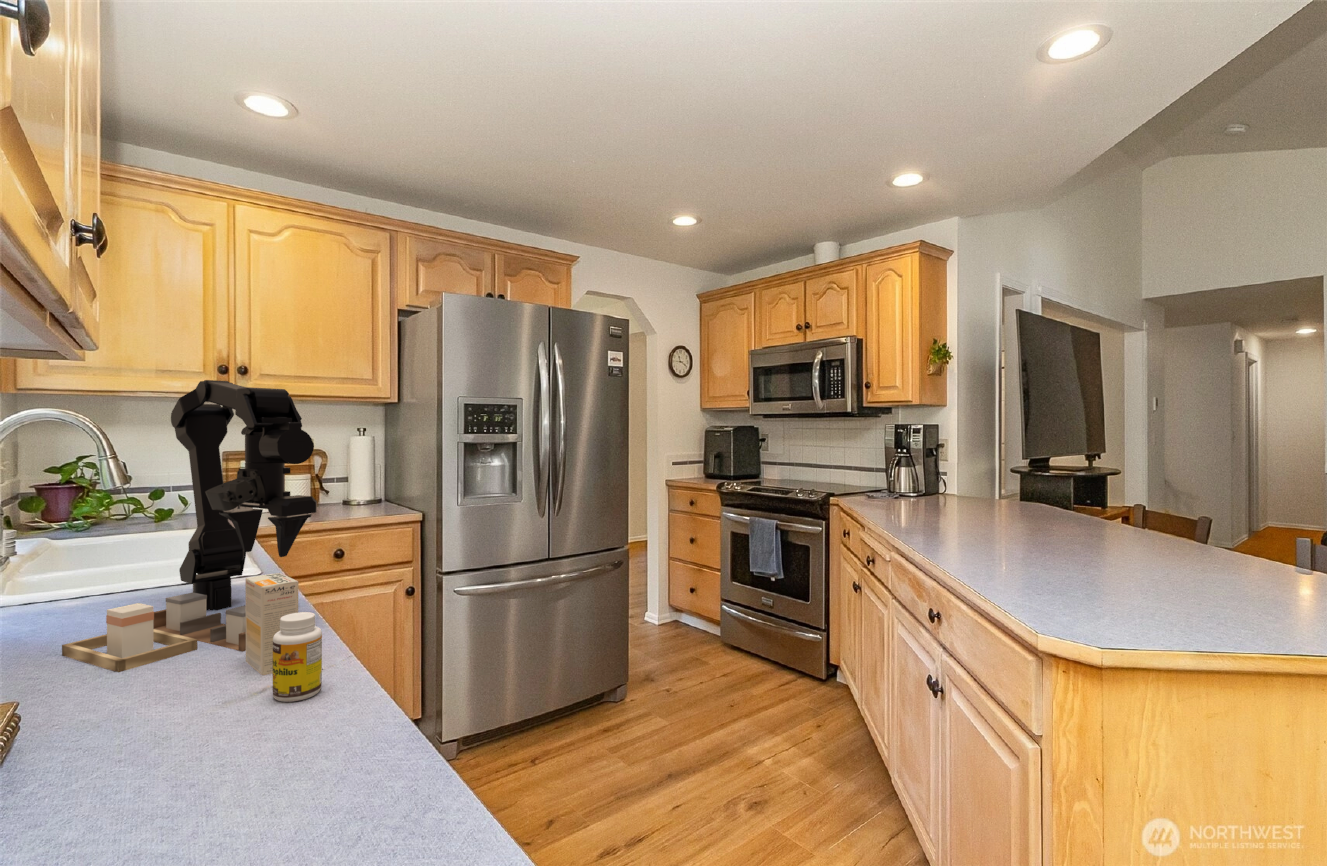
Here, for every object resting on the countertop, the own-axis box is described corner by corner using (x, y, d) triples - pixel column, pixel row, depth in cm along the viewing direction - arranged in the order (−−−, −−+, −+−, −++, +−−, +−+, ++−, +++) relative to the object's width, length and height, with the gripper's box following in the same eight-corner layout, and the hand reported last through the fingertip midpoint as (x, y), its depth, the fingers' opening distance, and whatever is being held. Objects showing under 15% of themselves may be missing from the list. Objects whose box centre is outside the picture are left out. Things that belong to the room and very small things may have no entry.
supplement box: (300, 673, 91) (300, 580, 91) (261, 683, 87) (261, 586, 87) (281, 658, 96) (281, 571, 96) (244, 667, 93) (244, 576, 93)
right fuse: (225, 641, 100) (225, 609, 100) (251, 634, 104) (251, 603, 104) (242, 645, 99) (242, 613, 99) (268, 637, 103) (268, 606, 102)
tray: (62, 661, 94) (61, 644, 94) (140, 641, 103) (140, 625, 103) (118, 679, 88) (118, 661, 88) (197, 655, 97) (197, 639, 97)
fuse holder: (147, 634, 107) (147, 613, 107) (192, 622, 113) (192, 603, 113) (242, 657, 96) (242, 634, 96) (287, 643, 103) (287, 621, 103)
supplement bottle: (261, 700, 82) (262, 619, 82) (298, 683, 87) (298, 608, 87) (296, 706, 80) (296, 624, 80) (331, 688, 85) (331, 612, 85)
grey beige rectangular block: (165, 627, 107) (165, 598, 107) (192, 621, 111) (192, 592, 111) (180, 631, 105) (180, 600, 105) (206, 624, 109) (206, 595, 109)
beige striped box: (138, 648, 99) (138, 602, 98) (154, 652, 97) (153, 606, 97) (106, 657, 95) (106, 609, 95) (121, 661, 93) (121, 613, 93)
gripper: (179, 462, 106) (180, 557, 106) (252, 466, 98) (252, 569, 98) (248, 459, 116) (248, 546, 116) (319, 462, 108) (319, 555, 108)
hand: (265, 554), depth 109 cm, fingers open, 9 cm apart
